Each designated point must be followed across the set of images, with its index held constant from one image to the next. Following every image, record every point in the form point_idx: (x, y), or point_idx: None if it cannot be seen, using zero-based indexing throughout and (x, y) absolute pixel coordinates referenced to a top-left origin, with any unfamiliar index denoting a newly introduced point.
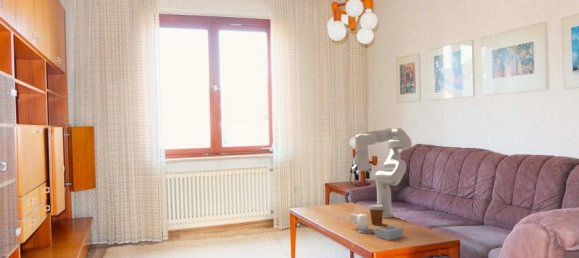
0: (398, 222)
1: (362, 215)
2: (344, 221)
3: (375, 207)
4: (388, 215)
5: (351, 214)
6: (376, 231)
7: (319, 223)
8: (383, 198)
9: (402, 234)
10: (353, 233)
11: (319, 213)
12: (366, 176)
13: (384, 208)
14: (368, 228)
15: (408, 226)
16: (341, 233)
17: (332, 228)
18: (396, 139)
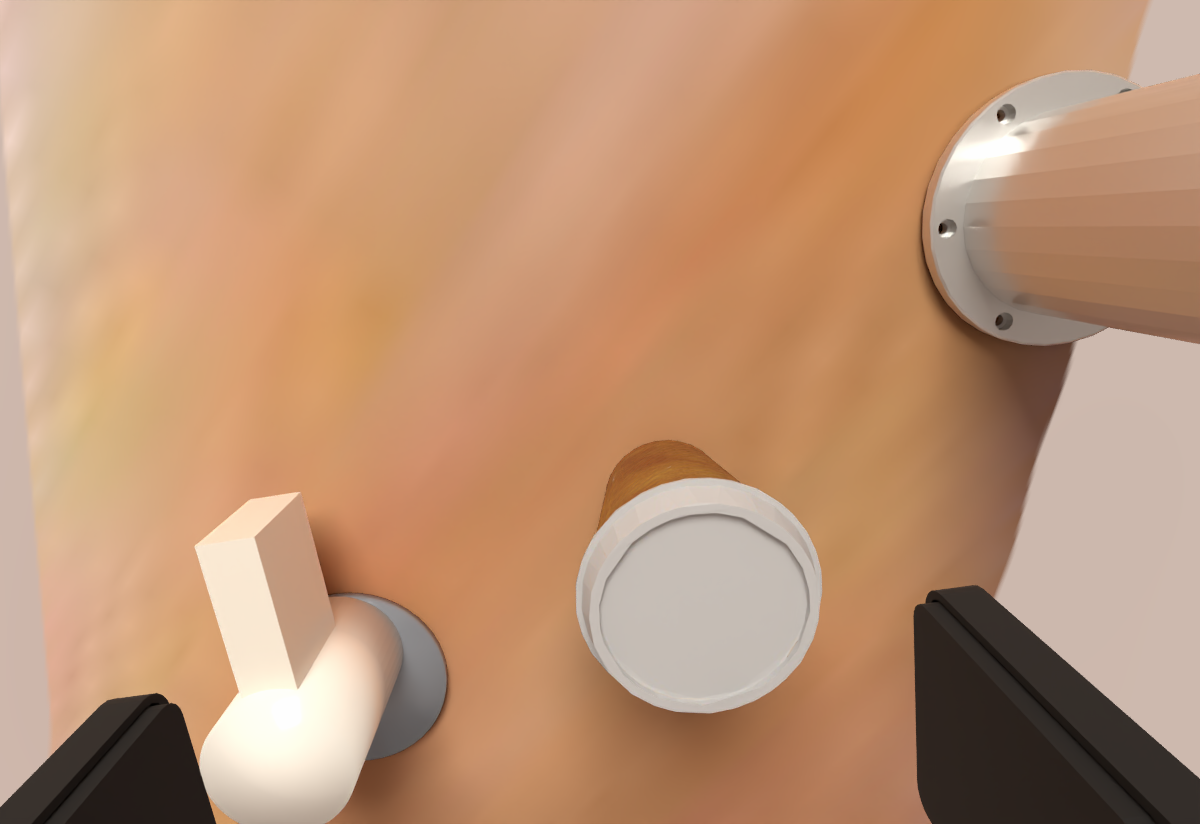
0: (915, 575)
1: (260, 790)
2: (392, 145)
3: (619, 680)
4: (1040, 315)
5: (212, 570)
6: None
7: (4, 25)
8: (1185, 315)
9: None
10: (193, 676)
11: None
12: (977, 734)
13: (1058, 305)
14: (426, 642)
15: (863, 752)
16: (70, 611)
17: (66, 374)
18: None
